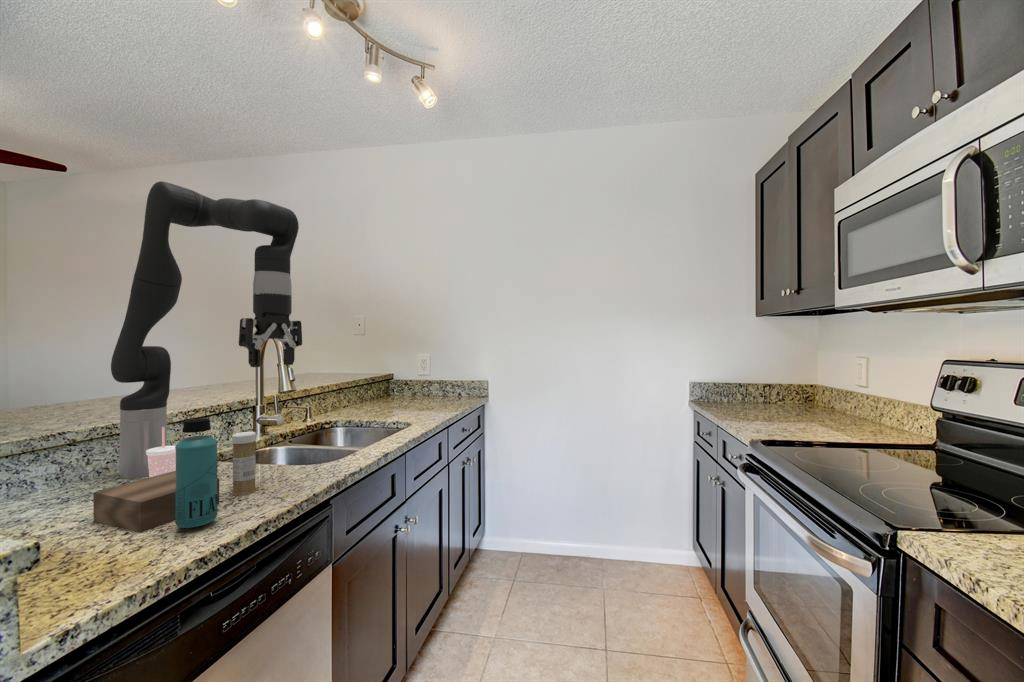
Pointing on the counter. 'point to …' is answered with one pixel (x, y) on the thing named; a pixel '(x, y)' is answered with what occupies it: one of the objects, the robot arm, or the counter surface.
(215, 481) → the beverage bottle
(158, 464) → the beverage cup
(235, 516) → the counter surface
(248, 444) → the brown spice jar
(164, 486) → the walnut block
